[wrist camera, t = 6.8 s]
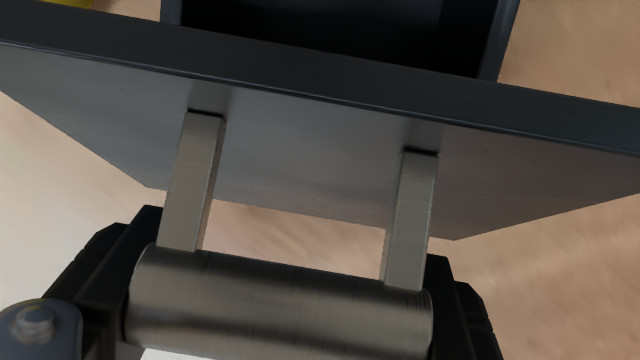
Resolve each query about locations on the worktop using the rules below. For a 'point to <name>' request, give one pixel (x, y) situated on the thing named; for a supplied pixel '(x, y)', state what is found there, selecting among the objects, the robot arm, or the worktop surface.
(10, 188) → the worktop surface
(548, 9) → the worktop surface
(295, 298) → the bin lid
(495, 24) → the bin
